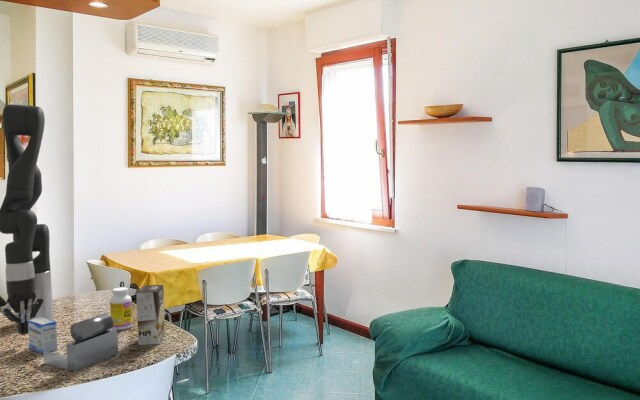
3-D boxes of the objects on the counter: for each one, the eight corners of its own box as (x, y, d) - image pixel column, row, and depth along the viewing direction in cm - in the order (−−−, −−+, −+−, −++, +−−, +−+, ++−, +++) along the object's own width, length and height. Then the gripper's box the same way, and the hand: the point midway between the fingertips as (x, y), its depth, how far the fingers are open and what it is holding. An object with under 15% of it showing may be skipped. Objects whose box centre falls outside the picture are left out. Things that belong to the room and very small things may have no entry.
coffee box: (159, 344, 166) (157, 291, 164) (137, 345, 165) (135, 292, 164) (165, 334, 175) (163, 284, 173) (144, 335, 174) (142, 284, 173)
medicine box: (28, 349, 163) (27, 320, 163) (43, 344, 167) (42, 316, 166) (43, 354, 159) (41, 324, 158) (58, 349, 162) (56, 320, 162)
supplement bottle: (125, 331, 179) (123, 291, 178) (107, 330, 180) (105, 291, 179) (136, 324, 185) (134, 286, 184) (118, 323, 186) (116, 286, 185)
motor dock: (44, 363, 152) (41, 320, 151) (87, 346, 165) (85, 307, 163) (78, 371, 146) (75, 327, 145) (120, 353, 158) (118, 312, 157)
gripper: (32, 271, 172) (36, 326, 174) (-10, 280, 161) (-6, 339, 162) (48, 273, 169) (52, 329, 170) (6, 282, 157) (10, 342, 159)
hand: (23, 333), depth 166 cm, fingers closed
